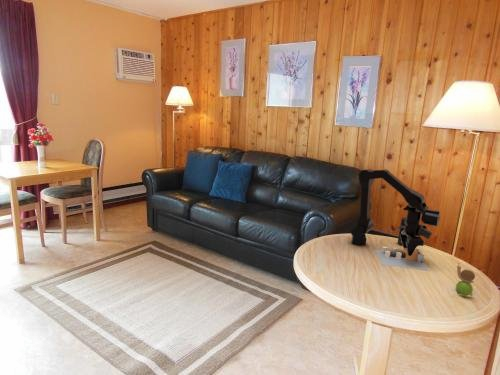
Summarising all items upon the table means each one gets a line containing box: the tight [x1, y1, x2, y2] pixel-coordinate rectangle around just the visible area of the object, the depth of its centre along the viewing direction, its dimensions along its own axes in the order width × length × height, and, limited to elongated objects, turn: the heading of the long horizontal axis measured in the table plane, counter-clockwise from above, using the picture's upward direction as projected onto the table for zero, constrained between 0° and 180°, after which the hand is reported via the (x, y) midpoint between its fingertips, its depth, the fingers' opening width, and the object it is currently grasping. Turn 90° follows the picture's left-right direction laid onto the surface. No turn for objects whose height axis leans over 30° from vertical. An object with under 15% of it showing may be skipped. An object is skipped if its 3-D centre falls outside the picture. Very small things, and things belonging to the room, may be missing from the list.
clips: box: [381, 246, 403, 260], centre depth 160 cm, size 7×6×3 cm
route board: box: [374, 249, 431, 272], centre depth 157 cm, size 20×18×1 cm
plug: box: [389, 248, 418, 260], centre depth 159 cm, size 14×4×4 cm, turn 81°
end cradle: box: [415, 248, 425, 263], centre depth 158 cm, size 2×8×4 cm, turn 171°
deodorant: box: [397, 216, 407, 247], centre depth 175 cm, size 6×6×15 cm
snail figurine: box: [455, 262, 476, 296], centre depth 129 cm, size 5×6×12 cm
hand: (407, 252), depth 158 cm, fingers open, 7 cm apart
